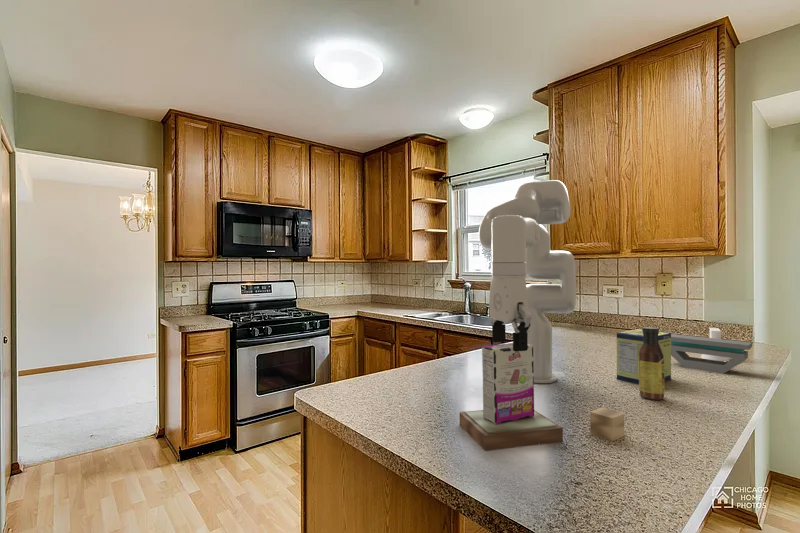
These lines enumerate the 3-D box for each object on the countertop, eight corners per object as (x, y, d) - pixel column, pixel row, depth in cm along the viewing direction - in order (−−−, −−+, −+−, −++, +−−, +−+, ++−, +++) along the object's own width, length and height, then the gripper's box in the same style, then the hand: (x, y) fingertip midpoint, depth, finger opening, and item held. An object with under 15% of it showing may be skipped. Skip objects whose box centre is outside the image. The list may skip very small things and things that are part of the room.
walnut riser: (459, 424, 97) (459, 410, 97) (527, 417, 101) (527, 404, 101) (485, 450, 84) (485, 434, 83) (562, 441, 88) (562, 426, 88)
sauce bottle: (668, 401, 113) (668, 330, 113) (643, 400, 115) (643, 329, 115) (658, 394, 120) (658, 326, 120) (635, 393, 121) (635, 325, 121)
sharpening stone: (663, 364, 156) (663, 335, 156) (669, 361, 161) (669, 333, 161) (748, 377, 138) (748, 345, 137) (752, 373, 143) (752, 342, 143)
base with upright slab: (730, 363, 158) (730, 331, 158) (701, 360, 163) (702, 329, 163) (727, 358, 166) (728, 328, 166) (700, 355, 171) (700, 327, 170)
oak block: (590, 433, 92) (590, 411, 92) (602, 428, 95) (602, 407, 95) (612, 441, 88) (612, 418, 88) (624, 436, 91) (624, 413, 91)
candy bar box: (519, 410, 97) (519, 341, 97) (535, 417, 93) (535, 345, 93) (481, 417, 93) (481, 345, 93) (495, 425, 88) (495, 349, 88)
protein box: (671, 379, 136) (671, 332, 136) (649, 387, 127) (649, 337, 127) (638, 372, 145) (639, 328, 144) (615, 379, 136) (615, 332, 136)
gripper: (477, 269, 100) (477, 339, 100) (512, 272, 83) (513, 356, 84) (505, 269, 102) (505, 337, 102) (545, 271, 85) (545, 353, 85)
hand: (509, 346), depth 93 cm, fingers open, 9 cm apart
